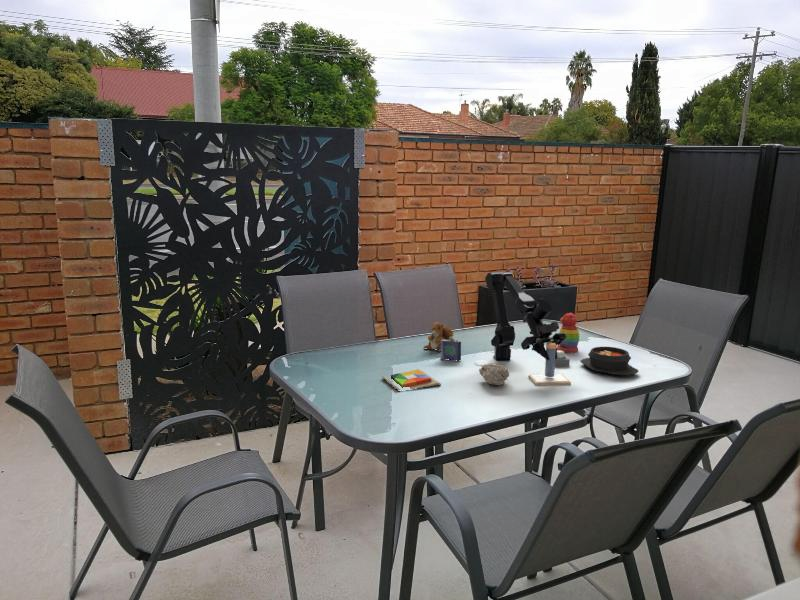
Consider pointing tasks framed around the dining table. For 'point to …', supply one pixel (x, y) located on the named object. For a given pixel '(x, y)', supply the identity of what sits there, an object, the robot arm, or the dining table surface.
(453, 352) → the dark blue box
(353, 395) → the dining table surface
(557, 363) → the gray square hollow block
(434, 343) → the stuffed squirrel
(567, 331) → the stacking bear
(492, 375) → the pumice stone
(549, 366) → the toy microphone
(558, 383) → the sketch pad
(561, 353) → the button
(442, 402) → the dining table surface
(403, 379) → the wooden puzzle
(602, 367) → the casserole
